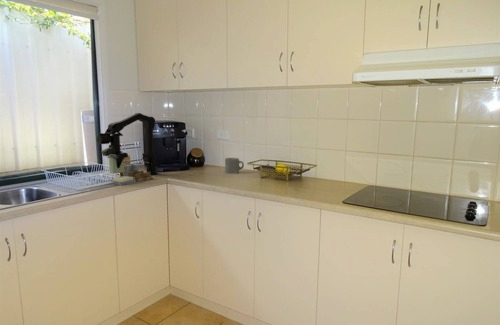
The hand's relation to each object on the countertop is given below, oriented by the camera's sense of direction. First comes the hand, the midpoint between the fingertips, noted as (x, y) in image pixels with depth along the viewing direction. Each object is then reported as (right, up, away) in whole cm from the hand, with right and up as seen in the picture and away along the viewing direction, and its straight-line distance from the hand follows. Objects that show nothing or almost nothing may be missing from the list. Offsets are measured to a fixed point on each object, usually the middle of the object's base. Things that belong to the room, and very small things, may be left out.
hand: (116, 167), depth 217 cm
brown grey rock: (+11, -7, +5) cm, 14 cm away
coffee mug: (+74, -4, +30) cm, 79 cm away
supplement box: (-3, -5, +21) cm, 22 cm away
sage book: (0, -3, 0) cm, 3 cm away
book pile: (+8, -9, -9) cm, 15 cm away
